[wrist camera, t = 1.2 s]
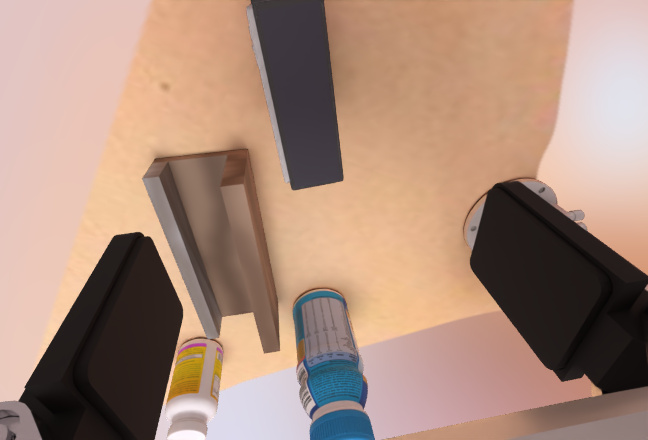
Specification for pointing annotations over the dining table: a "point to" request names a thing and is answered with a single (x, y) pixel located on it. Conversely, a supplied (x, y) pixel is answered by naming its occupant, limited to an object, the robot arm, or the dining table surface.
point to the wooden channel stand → (217, 237)
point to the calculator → (298, 88)
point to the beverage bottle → (330, 368)
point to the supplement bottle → (194, 389)
